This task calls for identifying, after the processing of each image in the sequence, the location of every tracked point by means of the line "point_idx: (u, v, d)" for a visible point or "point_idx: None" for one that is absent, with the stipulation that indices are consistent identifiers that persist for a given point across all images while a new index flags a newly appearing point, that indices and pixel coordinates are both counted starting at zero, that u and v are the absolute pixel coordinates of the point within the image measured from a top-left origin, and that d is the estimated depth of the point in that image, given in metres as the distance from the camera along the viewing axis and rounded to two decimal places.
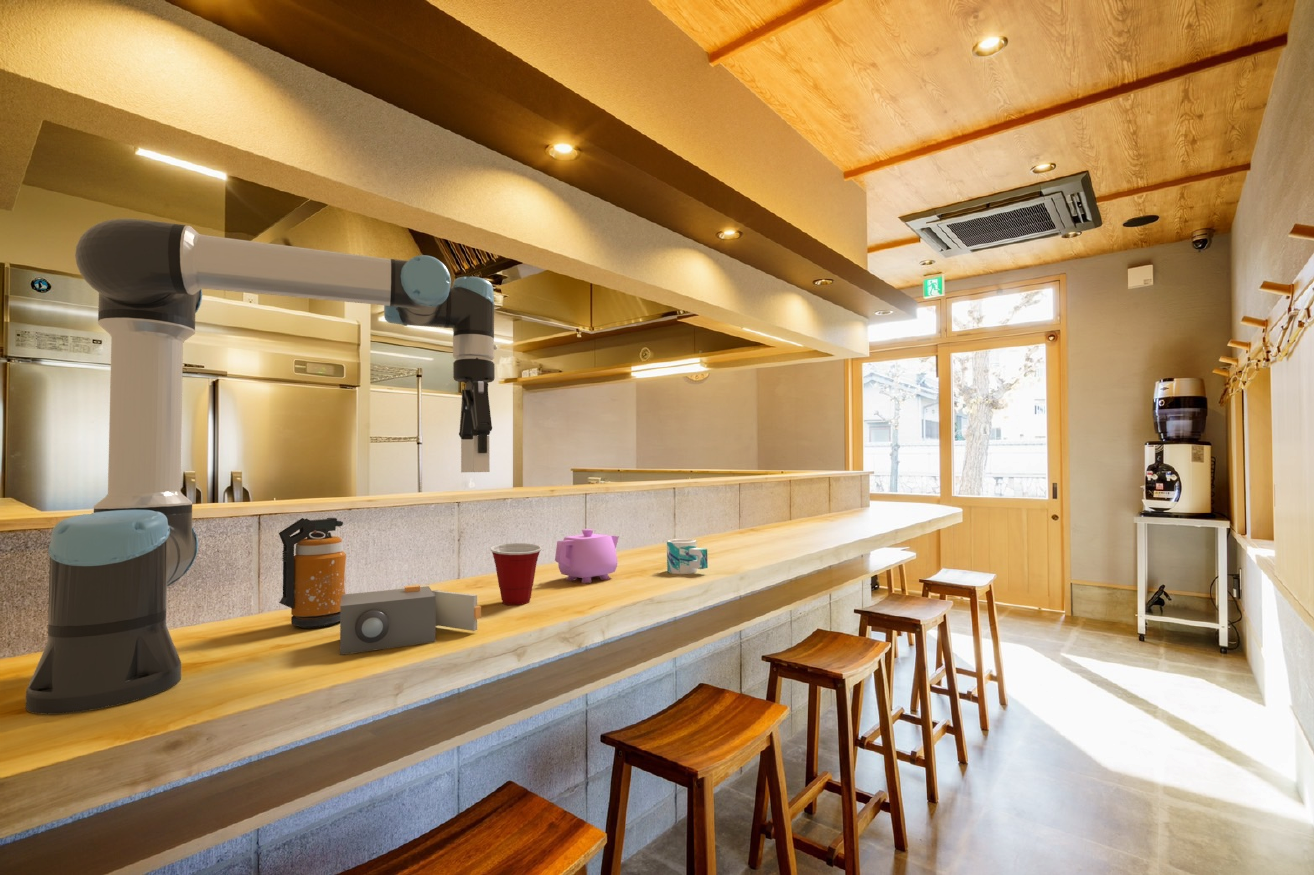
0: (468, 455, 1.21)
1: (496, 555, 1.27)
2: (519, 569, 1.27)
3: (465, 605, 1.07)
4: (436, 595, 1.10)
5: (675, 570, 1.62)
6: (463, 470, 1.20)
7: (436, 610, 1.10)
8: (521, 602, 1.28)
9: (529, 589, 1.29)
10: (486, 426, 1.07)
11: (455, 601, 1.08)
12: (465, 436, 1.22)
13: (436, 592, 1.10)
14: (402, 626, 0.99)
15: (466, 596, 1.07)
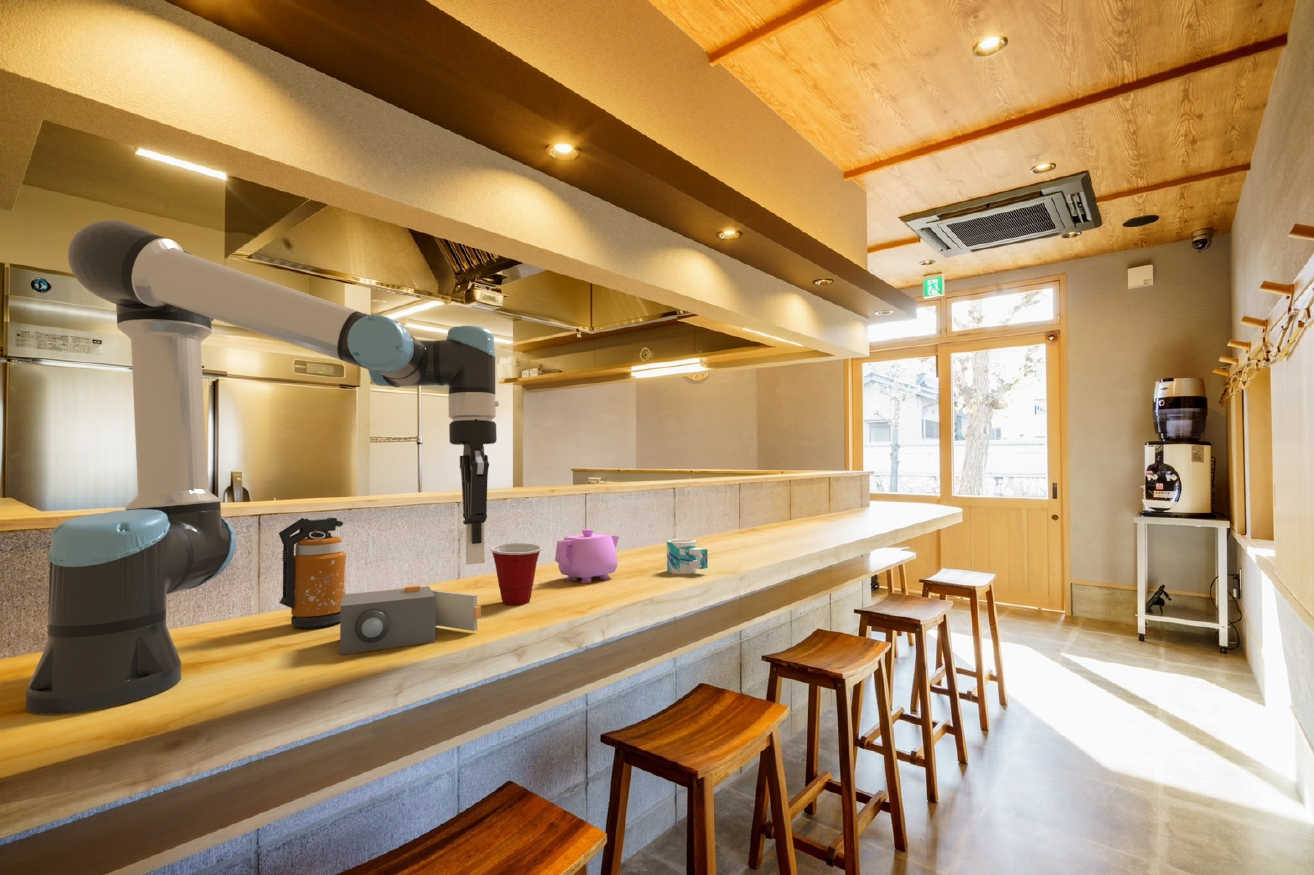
0: None
1: (496, 555, 1.27)
2: (519, 569, 1.27)
3: (465, 605, 1.07)
4: (436, 595, 1.10)
5: (675, 570, 1.62)
6: None
7: (436, 610, 1.10)
8: (521, 602, 1.28)
9: (529, 589, 1.29)
10: (480, 518, 0.98)
11: (455, 601, 1.08)
12: None
13: (436, 592, 1.10)
14: (402, 626, 0.99)
15: (466, 596, 1.07)
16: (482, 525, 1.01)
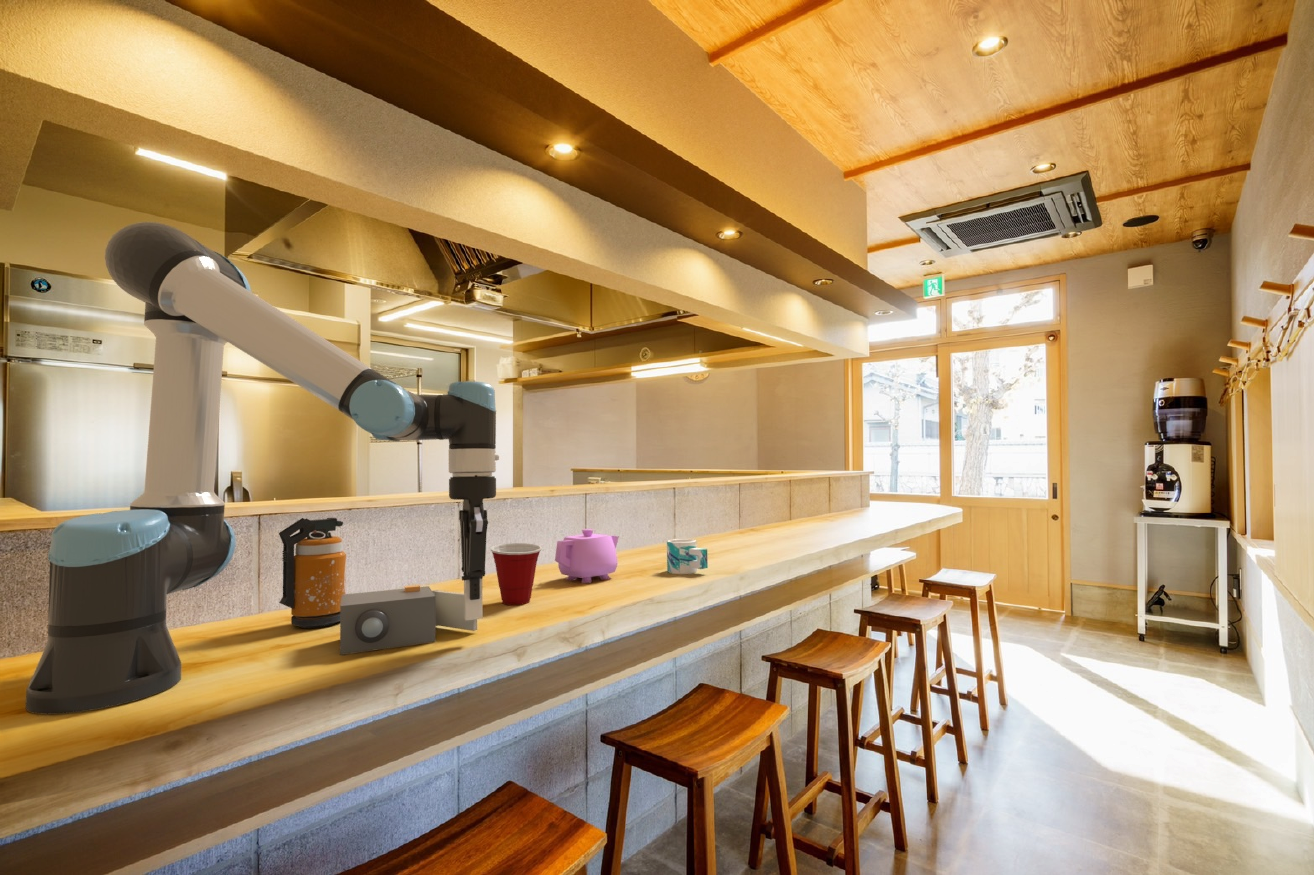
0: None
1: (496, 555, 1.27)
2: (519, 569, 1.27)
3: None
4: (436, 595, 1.10)
5: (675, 570, 1.62)
6: None
7: (436, 610, 1.10)
8: (521, 602, 1.28)
9: (529, 589, 1.29)
10: (478, 574, 0.98)
11: (455, 601, 1.08)
12: None
13: (436, 592, 1.10)
14: (402, 626, 0.99)
15: None
16: (480, 580, 1.01)
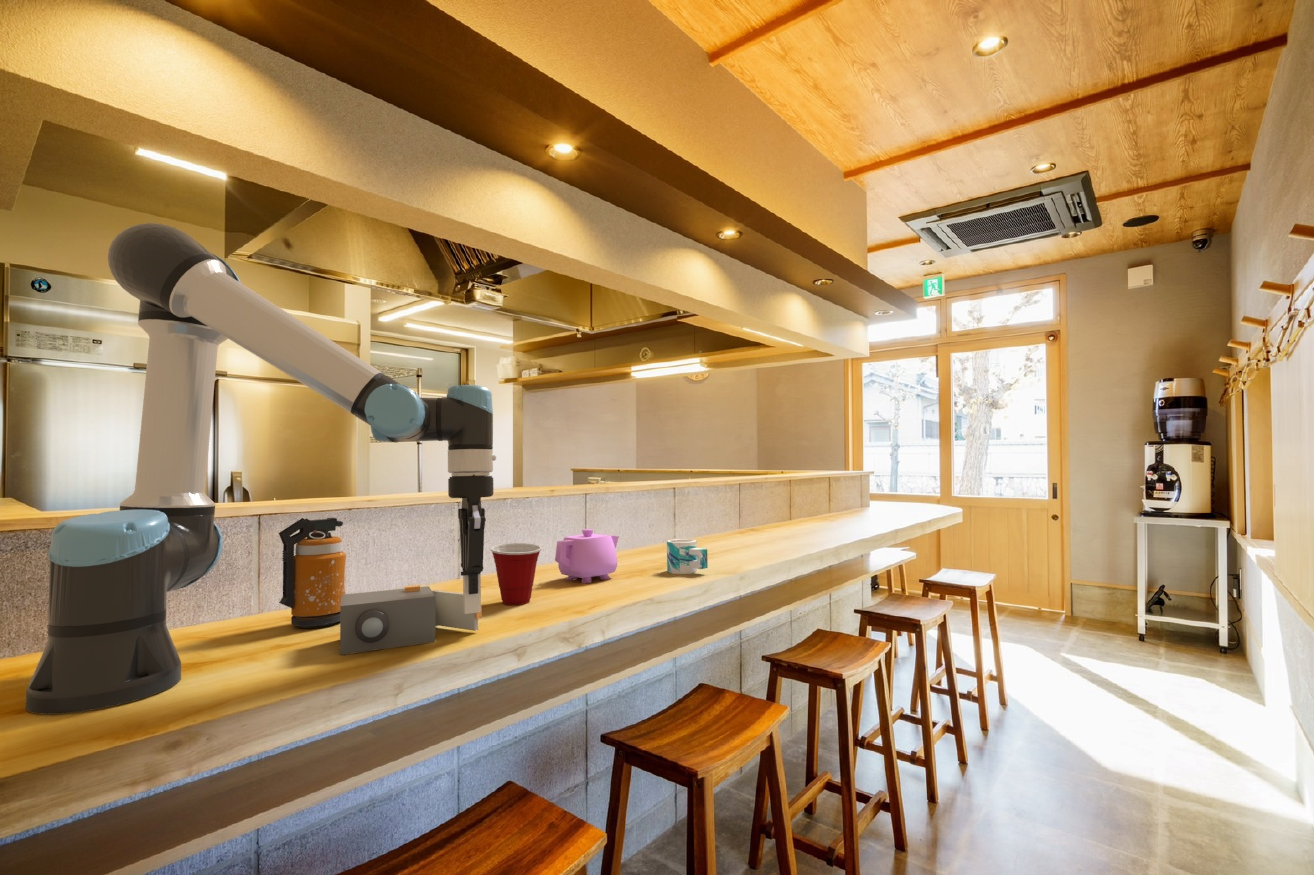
0: None
1: (496, 555, 1.27)
2: (519, 569, 1.27)
3: None
4: (436, 595, 1.10)
5: (675, 570, 1.62)
6: None
7: (436, 610, 1.10)
8: (521, 602, 1.28)
9: (529, 589, 1.29)
10: (477, 570, 1.02)
11: (455, 601, 1.08)
12: None
13: (436, 592, 1.10)
14: (402, 626, 0.99)
15: None
16: (479, 575, 1.05)
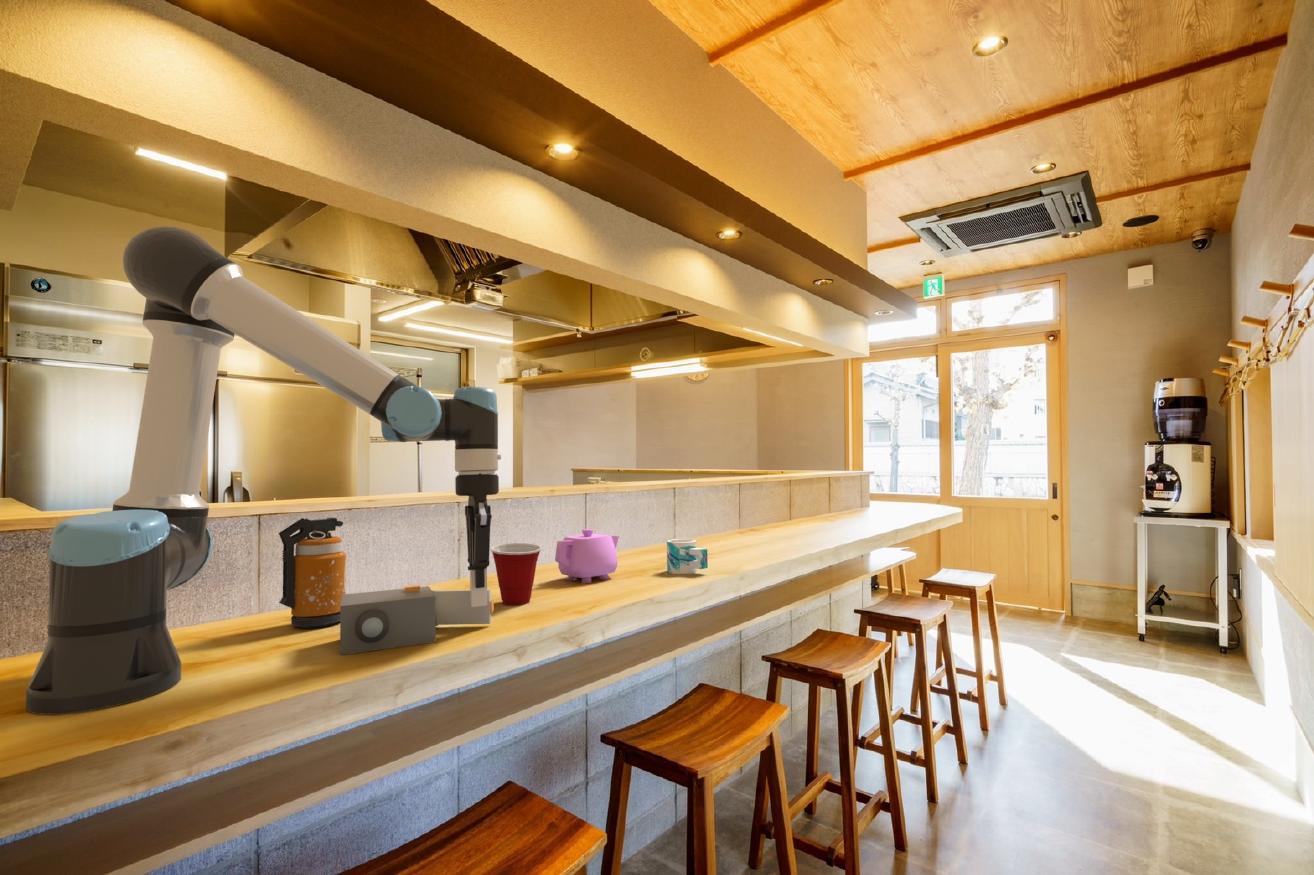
0: None
1: (496, 555, 1.27)
2: (519, 569, 1.27)
3: None
4: (438, 595, 1.11)
5: (675, 570, 1.62)
6: None
7: (438, 610, 1.10)
8: (521, 602, 1.28)
9: (529, 589, 1.29)
10: (483, 564, 1.06)
11: (465, 598, 1.10)
12: None
13: (438, 592, 1.11)
14: (402, 626, 0.99)
15: None
16: (485, 570, 1.09)
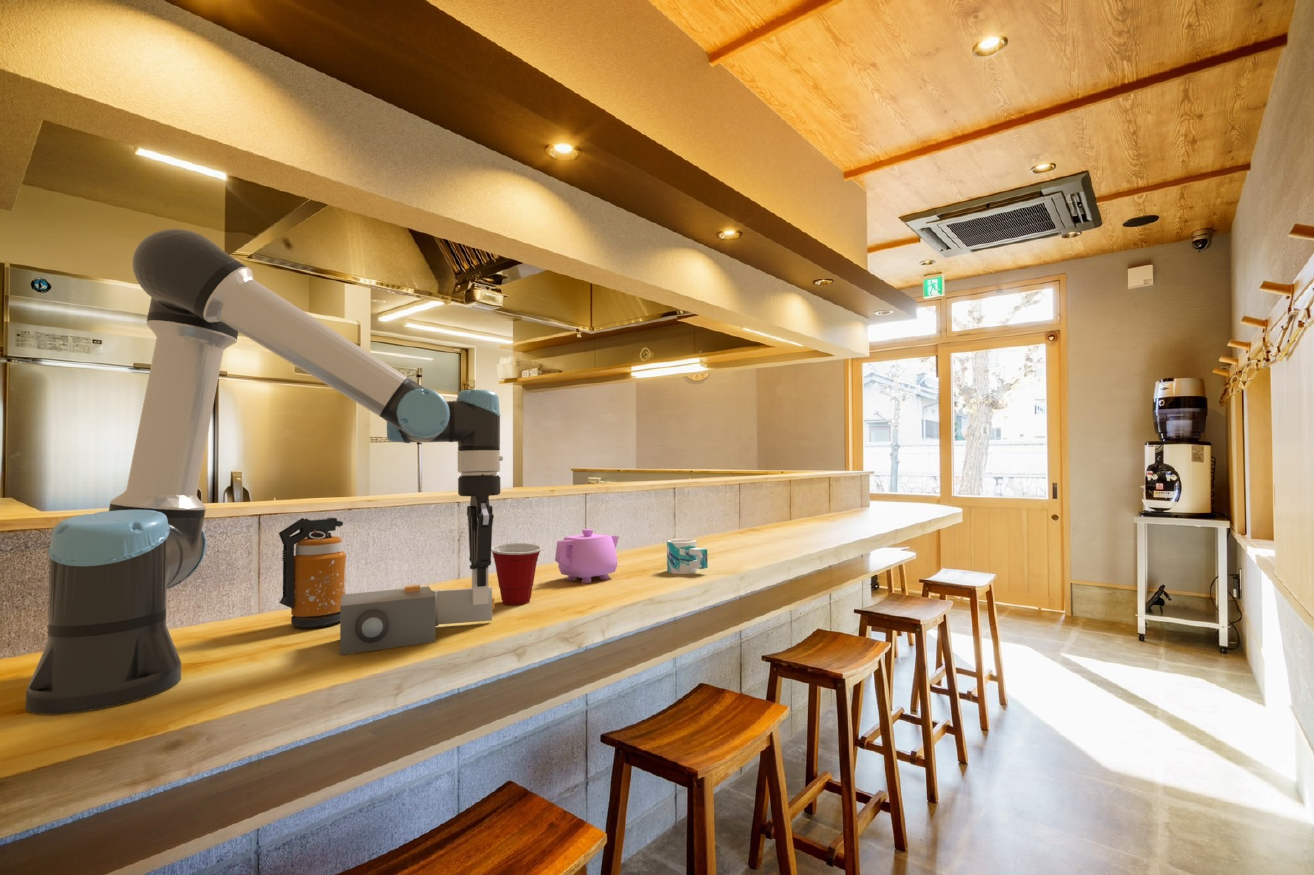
0: None
1: (496, 555, 1.27)
2: (519, 569, 1.27)
3: None
4: (439, 594, 1.11)
5: (675, 570, 1.62)
6: None
7: (439, 609, 1.11)
8: (521, 602, 1.28)
9: (529, 589, 1.29)
10: (485, 563, 1.09)
11: (467, 597, 1.12)
12: None
13: (439, 591, 1.11)
14: (402, 626, 0.99)
15: None
16: (486, 569, 1.12)
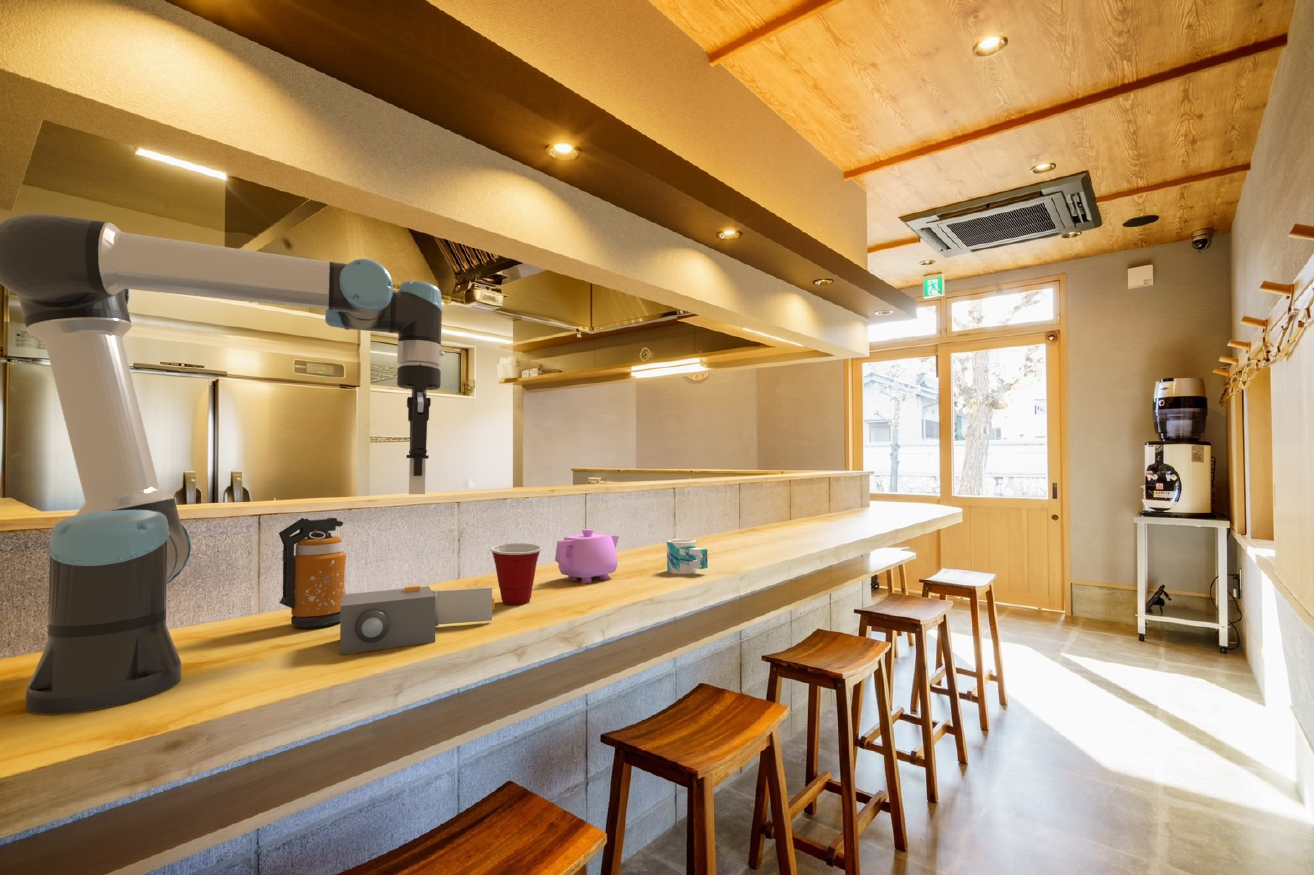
0: None
1: (496, 555, 1.27)
2: (519, 569, 1.27)
3: (480, 598, 1.12)
4: (439, 594, 1.11)
5: (675, 570, 1.62)
6: None
7: (439, 609, 1.11)
8: (521, 602, 1.28)
9: (529, 589, 1.29)
10: (420, 452, 1.10)
11: (467, 597, 1.12)
12: None
13: (439, 591, 1.11)
14: (402, 626, 0.99)
15: (482, 589, 1.13)
16: (424, 460, 1.12)
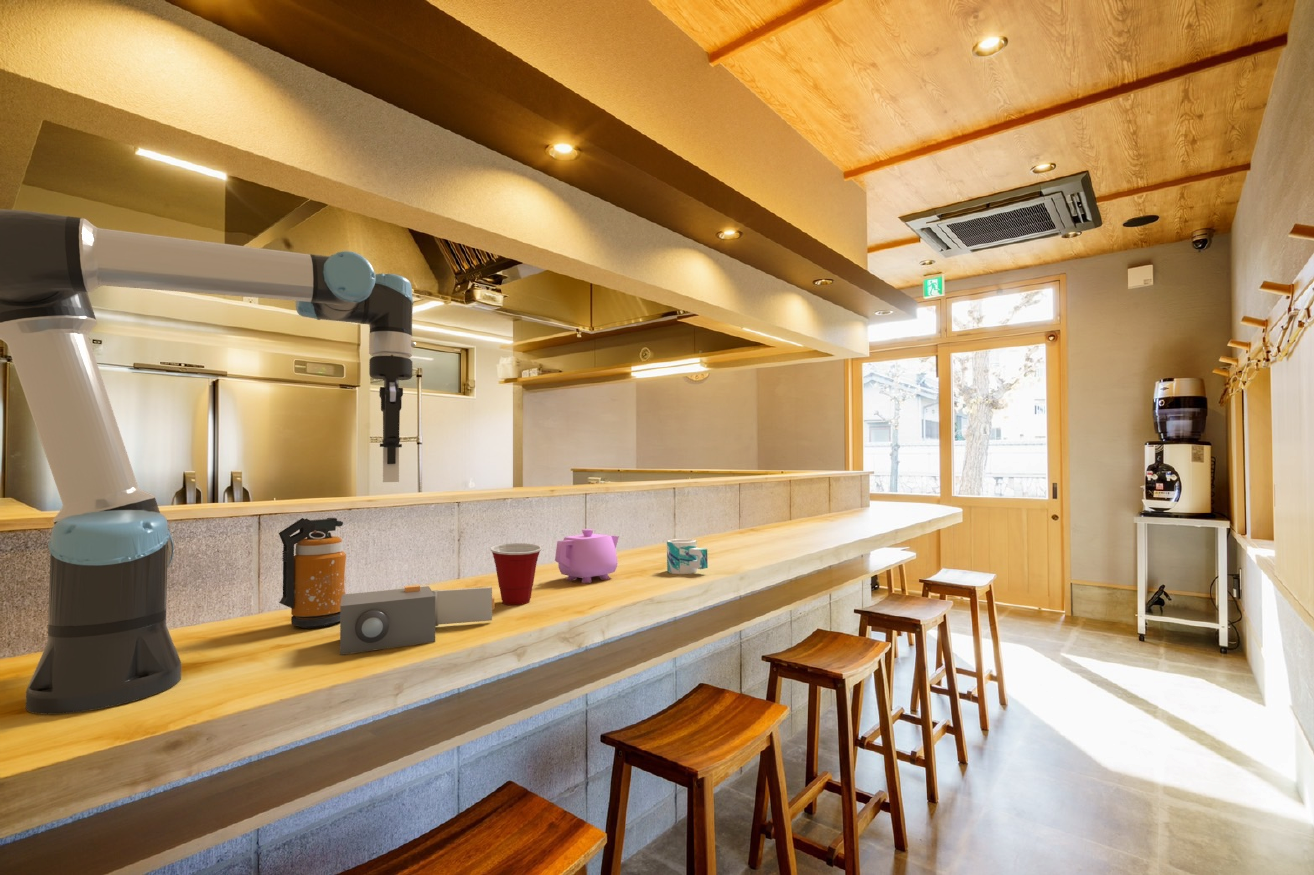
0: None
1: (496, 555, 1.27)
2: (519, 569, 1.27)
3: (480, 598, 1.12)
4: (439, 594, 1.11)
5: (675, 570, 1.62)
6: None
7: (439, 609, 1.11)
8: (521, 602, 1.28)
9: (529, 589, 1.29)
10: (393, 440, 1.12)
11: (467, 597, 1.12)
12: None
13: (439, 591, 1.11)
14: (402, 626, 0.99)
15: (482, 589, 1.13)
16: (397, 449, 1.15)
